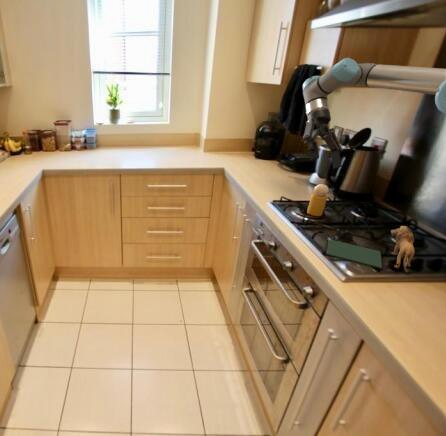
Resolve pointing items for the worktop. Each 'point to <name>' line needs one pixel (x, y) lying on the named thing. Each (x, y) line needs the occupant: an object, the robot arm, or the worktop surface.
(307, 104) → the robot arm
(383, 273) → the worktop surface
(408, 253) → the lion figurine
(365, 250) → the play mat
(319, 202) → the peg doll
